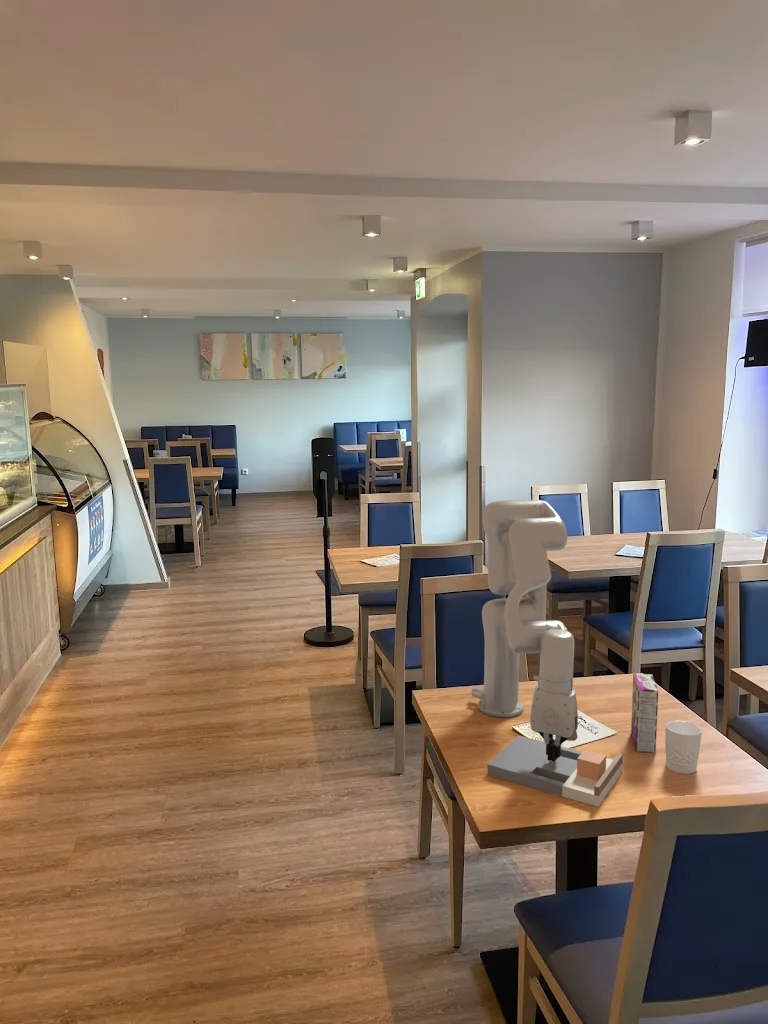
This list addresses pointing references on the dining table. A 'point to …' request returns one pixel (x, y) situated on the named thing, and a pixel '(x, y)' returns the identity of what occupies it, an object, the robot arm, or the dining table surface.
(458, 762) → the dining table surface
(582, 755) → the block
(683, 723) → the white cup
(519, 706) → the robot arm
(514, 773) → the board
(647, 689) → the candy bar box
